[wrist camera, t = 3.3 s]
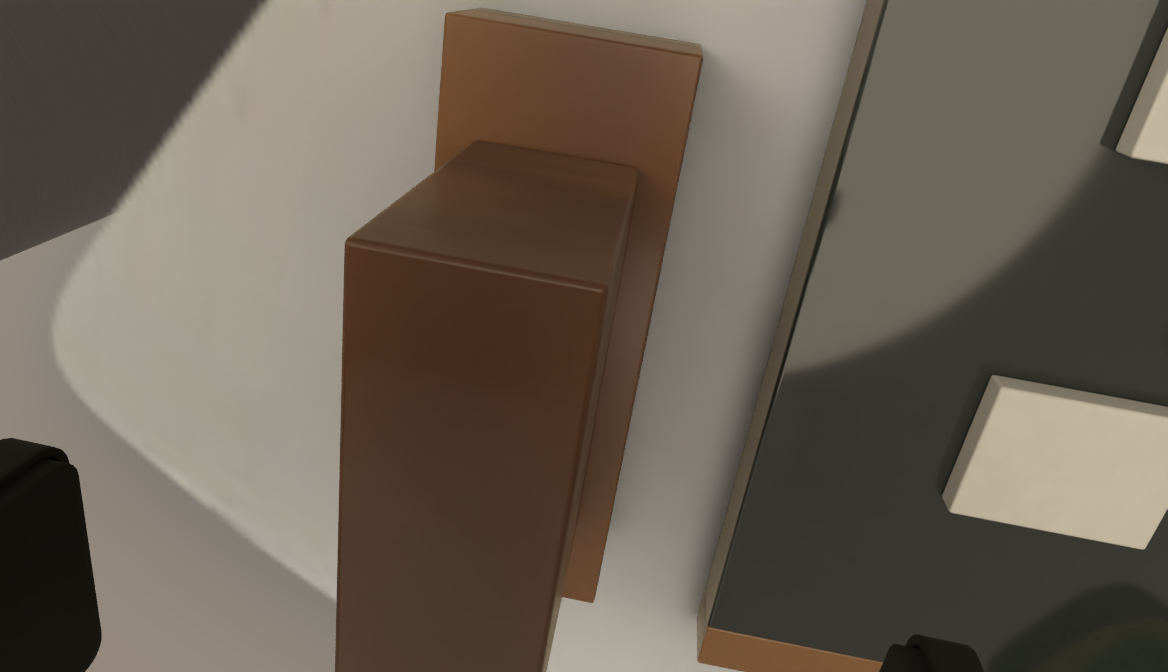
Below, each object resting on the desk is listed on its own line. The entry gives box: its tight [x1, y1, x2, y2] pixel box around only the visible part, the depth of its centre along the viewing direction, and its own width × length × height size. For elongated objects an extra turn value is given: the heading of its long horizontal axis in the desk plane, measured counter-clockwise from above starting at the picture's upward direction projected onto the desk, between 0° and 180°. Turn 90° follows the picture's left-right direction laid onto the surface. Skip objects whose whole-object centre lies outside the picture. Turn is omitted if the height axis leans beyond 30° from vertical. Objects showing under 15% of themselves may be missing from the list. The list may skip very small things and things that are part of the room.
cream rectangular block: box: [942, 375, 1168, 550], centre depth 16 cm, size 4×3×1 cm
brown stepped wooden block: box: [335, 8, 703, 672], centre depth 14 cm, size 4×12×8 cm, turn 172°
